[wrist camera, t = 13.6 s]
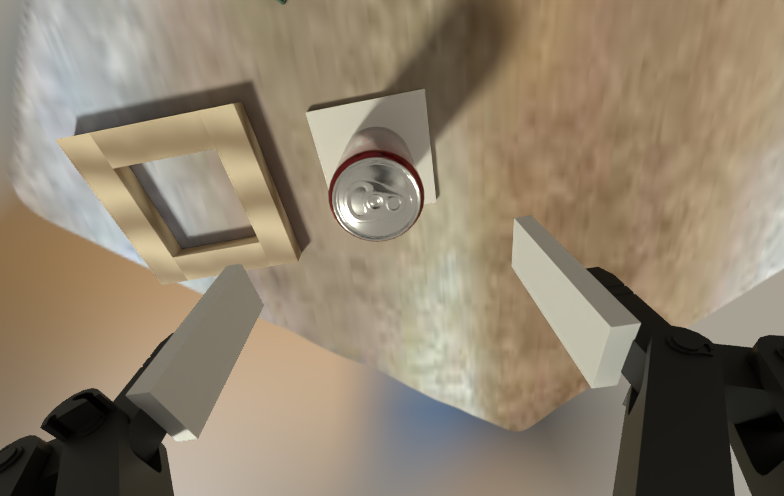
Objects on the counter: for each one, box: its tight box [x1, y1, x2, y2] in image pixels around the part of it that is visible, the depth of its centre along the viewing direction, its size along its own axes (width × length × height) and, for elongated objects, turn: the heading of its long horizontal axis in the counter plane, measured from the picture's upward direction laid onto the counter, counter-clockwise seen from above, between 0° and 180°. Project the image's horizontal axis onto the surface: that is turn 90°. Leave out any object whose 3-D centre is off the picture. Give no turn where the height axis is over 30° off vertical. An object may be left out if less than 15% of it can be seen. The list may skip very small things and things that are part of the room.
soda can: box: [328, 127, 425, 242], centre depth 27 cm, size 7×7×12 cm
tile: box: [306, 89, 436, 204], centre depth 32 cm, size 12×12×1 cm
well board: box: [56, 102, 301, 285], centre depth 33 cm, size 18×18×2 cm
